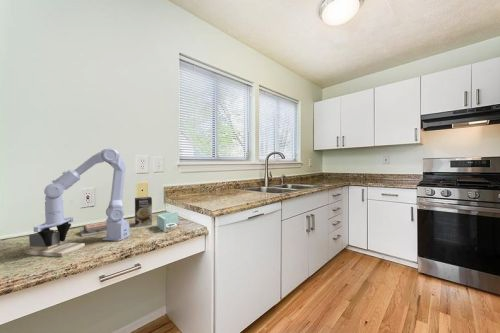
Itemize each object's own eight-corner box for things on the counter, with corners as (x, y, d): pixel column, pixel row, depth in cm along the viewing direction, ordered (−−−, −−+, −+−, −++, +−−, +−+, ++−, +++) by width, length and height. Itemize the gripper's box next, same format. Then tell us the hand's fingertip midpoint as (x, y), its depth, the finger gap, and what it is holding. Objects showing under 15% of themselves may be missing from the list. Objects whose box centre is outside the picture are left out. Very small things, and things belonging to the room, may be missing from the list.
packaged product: (118, 217, 127) (122, 221, 120) (118, 226, 127) (122, 230, 120) (79, 224, 115) (81, 228, 108) (80, 233, 115) (81, 238, 108)
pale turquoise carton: (164, 233, 115) (164, 219, 115) (157, 227, 124) (157, 214, 124) (185, 228, 123) (185, 215, 123) (177, 223, 132) (177, 211, 132)
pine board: (84, 246, 96) (84, 243, 96) (62, 256, 86) (61, 253, 86) (50, 244, 98) (50, 241, 98) (24, 254, 88) (24, 250, 88)
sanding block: (60, 244, 95) (59, 231, 94) (47, 248, 90) (47, 235, 90) (42, 243, 96) (42, 231, 96) (29, 248, 91) (29, 235, 91)
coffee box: (135, 227, 124) (134, 199, 123) (134, 224, 129) (134, 197, 129) (152, 224, 128) (152, 197, 127) (151, 222, 134) (151, 196, 133)
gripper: (63, 207, 99) (64, 236, 100) (26, 215, 85) (27, 249, 85) (76, 208, 98) (77, 237, 99) (41, 216, 84) (42, 250, 84)
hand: (55, 243), depth 92 cm, fingers closed on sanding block, 5 cm apart
